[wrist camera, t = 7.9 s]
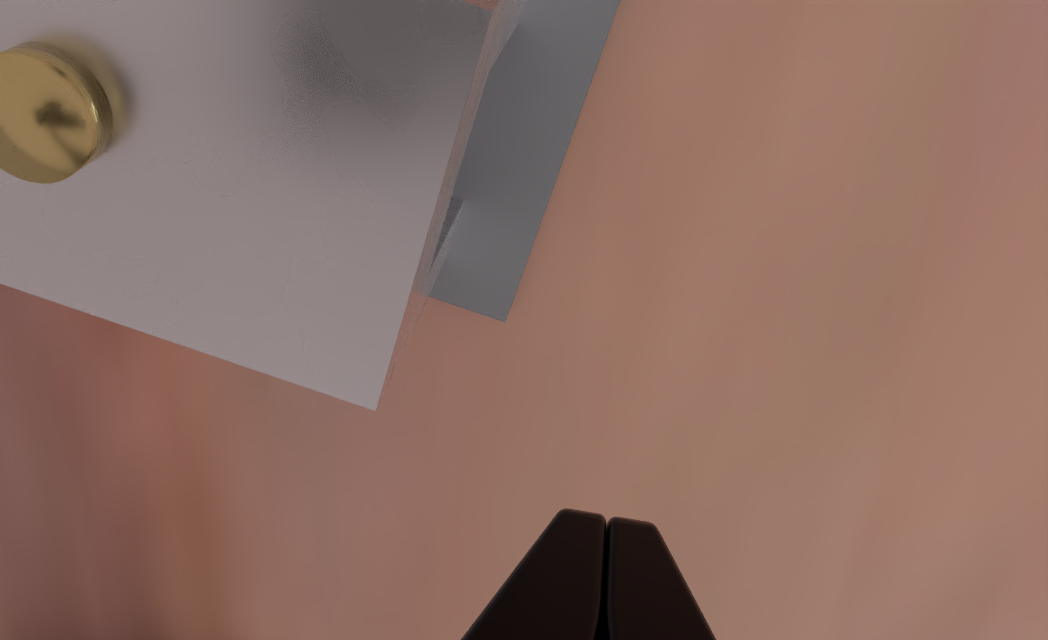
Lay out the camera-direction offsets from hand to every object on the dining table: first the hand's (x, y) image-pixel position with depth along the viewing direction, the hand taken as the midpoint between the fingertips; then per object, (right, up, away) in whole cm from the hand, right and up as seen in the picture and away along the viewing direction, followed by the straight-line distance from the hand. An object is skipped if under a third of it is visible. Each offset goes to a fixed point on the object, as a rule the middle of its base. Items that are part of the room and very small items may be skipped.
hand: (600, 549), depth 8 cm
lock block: (-5, +7, +8) cm, 11 cm away
